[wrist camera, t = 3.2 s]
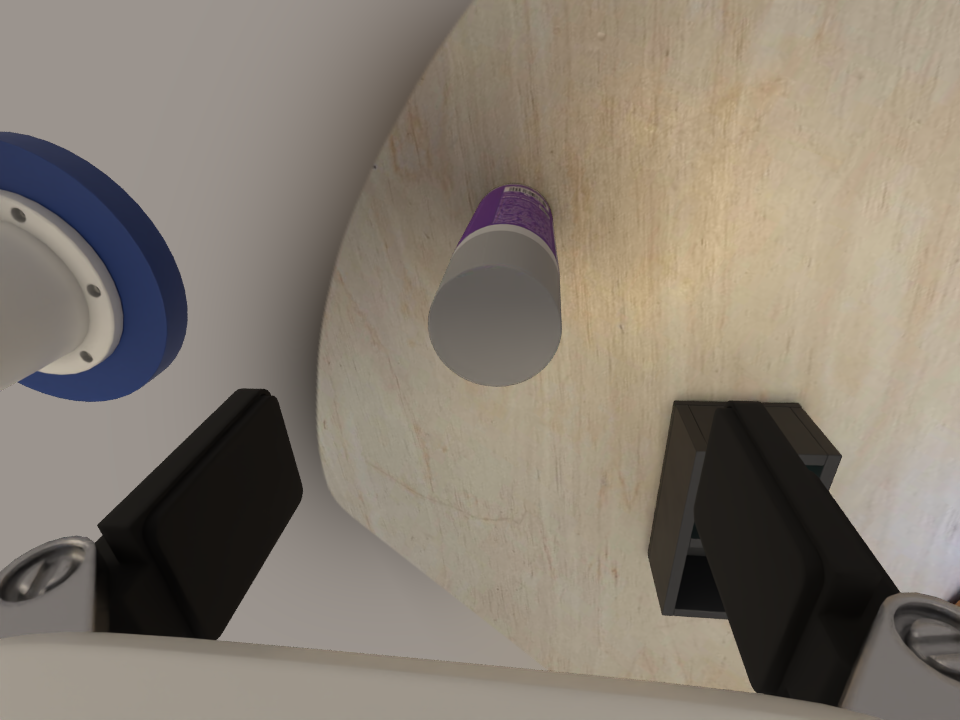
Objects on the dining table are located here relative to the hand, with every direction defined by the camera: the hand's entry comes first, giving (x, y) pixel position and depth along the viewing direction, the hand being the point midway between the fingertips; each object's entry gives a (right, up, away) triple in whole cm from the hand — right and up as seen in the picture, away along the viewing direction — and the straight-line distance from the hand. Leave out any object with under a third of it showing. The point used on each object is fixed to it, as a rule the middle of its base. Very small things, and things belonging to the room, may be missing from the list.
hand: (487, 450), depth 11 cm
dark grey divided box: (+18, -8, +27) cm, 33 cm away
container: (+2, +10, +19) cm, 22 cm away
